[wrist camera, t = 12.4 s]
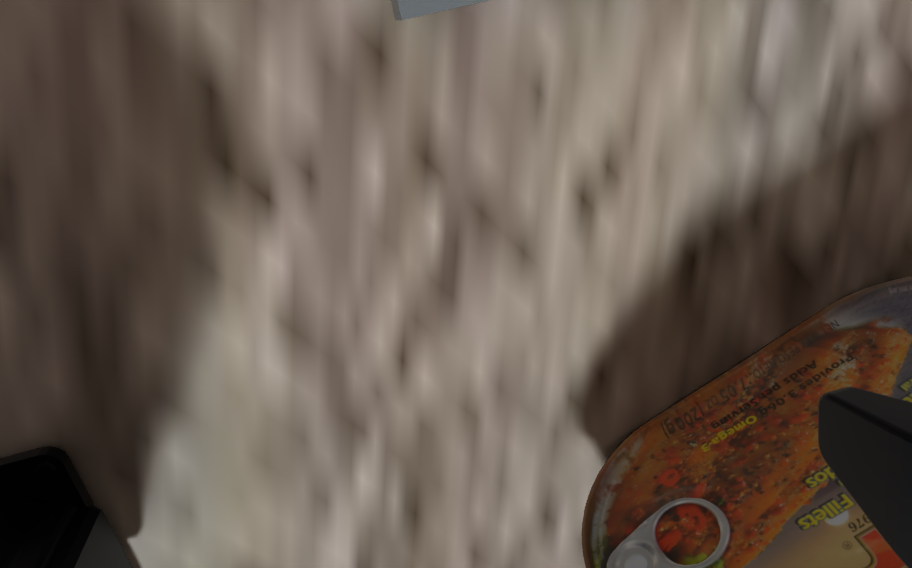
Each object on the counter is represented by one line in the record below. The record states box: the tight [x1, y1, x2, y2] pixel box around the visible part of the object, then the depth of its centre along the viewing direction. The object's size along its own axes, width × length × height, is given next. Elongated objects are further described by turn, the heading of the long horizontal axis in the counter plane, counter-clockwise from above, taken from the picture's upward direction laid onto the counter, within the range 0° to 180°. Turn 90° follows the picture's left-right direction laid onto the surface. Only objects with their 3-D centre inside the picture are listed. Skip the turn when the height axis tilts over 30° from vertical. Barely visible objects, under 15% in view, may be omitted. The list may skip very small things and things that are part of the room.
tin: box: [582, 276, 912, 568], centre depth 19 cm, size 15×3×8 cm, turn 122°
